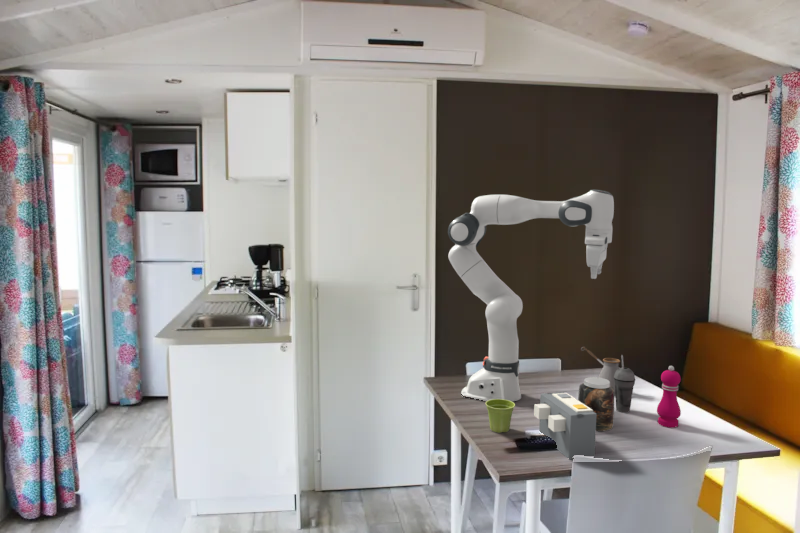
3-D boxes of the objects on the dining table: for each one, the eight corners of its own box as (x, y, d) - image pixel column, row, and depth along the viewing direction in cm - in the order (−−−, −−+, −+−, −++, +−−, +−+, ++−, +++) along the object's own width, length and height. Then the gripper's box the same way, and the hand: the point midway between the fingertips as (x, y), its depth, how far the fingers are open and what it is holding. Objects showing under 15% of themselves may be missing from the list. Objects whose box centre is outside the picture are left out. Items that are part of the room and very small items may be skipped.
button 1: (538, 419, 183) (539, 408, 183) (533, 415, 187) (534, 404, 186) (554, 418, 184) (554, 407, 184) (548, 414, 188) (549, 403, 187)
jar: (569, 420, 203) (571, 377, 201) (596, 416, 207) (598, 374, 206) (593, 433, 192) (595, 387, 190) (621, 428, 197) (623, 383, 195)
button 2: (553, 431, 174) (554, 419, 173) (548, 427, 177) (548, 415, 177) (569, 430, 175) (570, 418, 174) (563, 426, 178) (564, 414, 178)
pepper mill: (669, 429, 196) (673, 369, 194) (651, 422, 202) (654, 364, 200) (684, 426, 199) (688, 367, 197) (666, 419, 205) (669, 362, 203)
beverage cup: (635, 414, 209) (638, 358, 207) (613, 413, 211) (616, 357, 209) (631, 407, 216) (634, 353, 214) (610, 406, 218) (613, 352, 216)
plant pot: (507, 437, 188) (508, 410, 187) (480, 431, 193) (480, 405, 192) (518, 428, 196) (519, 402, 195) (491, 422, 201) (492, 397, 200)
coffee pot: (632, 394, 232) (634, 356, 230) (610, 398, 227) (612, 359, 225) (590, 379, 251) (592, 344, 249) (570, 383, 245) (571, 347, 244)
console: (569, 459, 172) (570, 413, 171) (539, 433, 191) (540, 391, 190) (594, 457, 174) (596, 411, 172) (562, 431, 193) (564, 390, 192)
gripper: (593, 233, 218) (591, 270, 221) (584, 239, 200) (581, 280, 203) (612, 234, 216) (609, 272, 218) (603, 240, 198) (600, 282, 200)
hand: (595, 276), depth 210 cm, fingers open, 8 cm apart
